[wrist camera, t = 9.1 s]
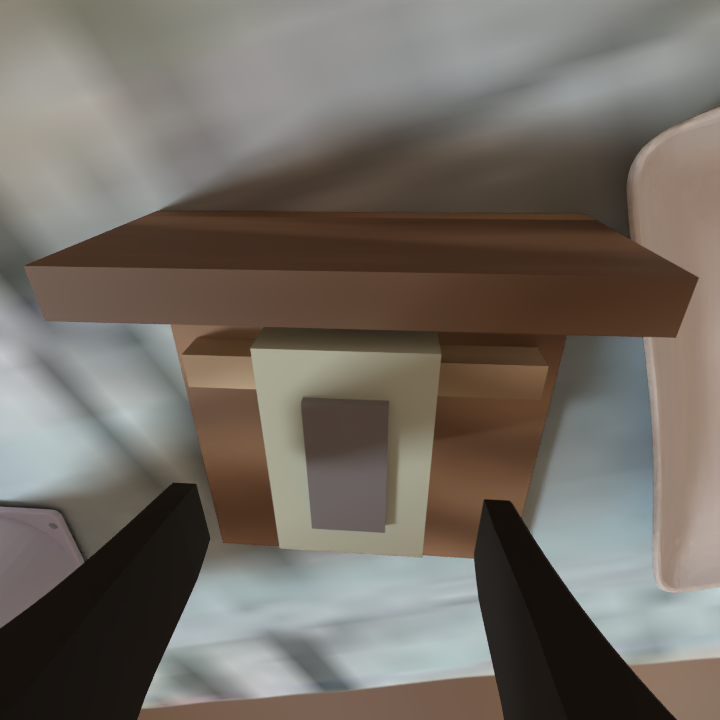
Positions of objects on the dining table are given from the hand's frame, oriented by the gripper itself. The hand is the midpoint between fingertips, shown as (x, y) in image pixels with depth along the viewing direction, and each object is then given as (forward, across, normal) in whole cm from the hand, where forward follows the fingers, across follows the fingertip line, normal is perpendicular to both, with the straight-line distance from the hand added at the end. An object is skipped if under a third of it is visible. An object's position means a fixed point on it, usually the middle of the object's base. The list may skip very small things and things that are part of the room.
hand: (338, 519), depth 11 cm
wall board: (+9, 0, +3) cm, 10 cm away
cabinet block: (+8, 0, 0) cm, 8 cm away
